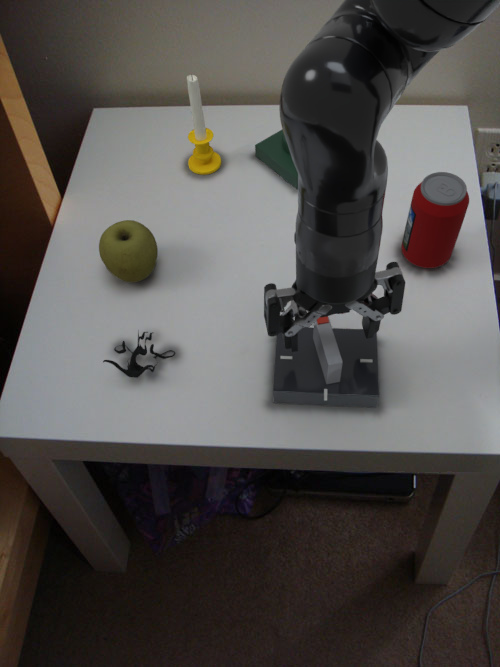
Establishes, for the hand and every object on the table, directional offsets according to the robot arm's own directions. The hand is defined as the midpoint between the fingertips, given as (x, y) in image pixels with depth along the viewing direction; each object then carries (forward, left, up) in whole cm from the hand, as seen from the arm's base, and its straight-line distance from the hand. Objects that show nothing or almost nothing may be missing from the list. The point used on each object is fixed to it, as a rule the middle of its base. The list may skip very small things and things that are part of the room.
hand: (330, 338), depth 67 cm
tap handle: (+1, 0, -4) cm, 4 cm away
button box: (-23, -31, -7) cm, 39 cm away
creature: (+17, -16, -7) cm, 24 cm away
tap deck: (+1, 0, -7) cm, 7 cm away
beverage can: (-22, -5, -7) cm, 24 cm away
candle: (-10, -40, -7) cm, 42 cm away
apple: (+10, -29, -7) cm, 31 cm away
